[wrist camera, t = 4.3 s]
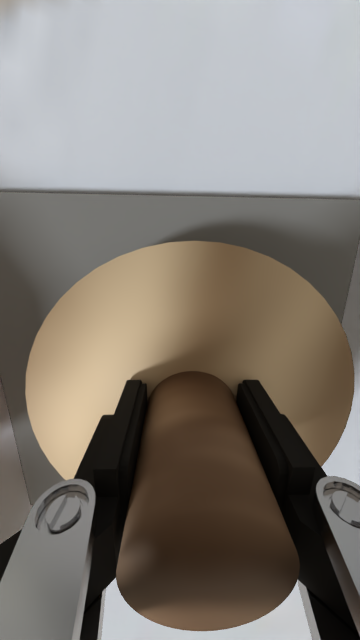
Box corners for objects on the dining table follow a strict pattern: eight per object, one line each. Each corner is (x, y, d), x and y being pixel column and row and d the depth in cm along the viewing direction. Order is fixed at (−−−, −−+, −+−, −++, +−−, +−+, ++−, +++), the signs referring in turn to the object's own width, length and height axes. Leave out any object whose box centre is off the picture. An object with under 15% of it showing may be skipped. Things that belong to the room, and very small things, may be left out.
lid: (372, 242, 8) (744, 223, 3) (313, 507, 12) (431, 724, 7) (8, 240, 8) (-337, 217, 3) (60, 511, 12) (-43, 740, 6)
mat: (356, 202, 10) (368, 199, 10) (299, 483, 15) (304, 493, 14) (-30, 194, 9) (-43, 191, 9) (36, 494, 14) (30, 504, 13)
